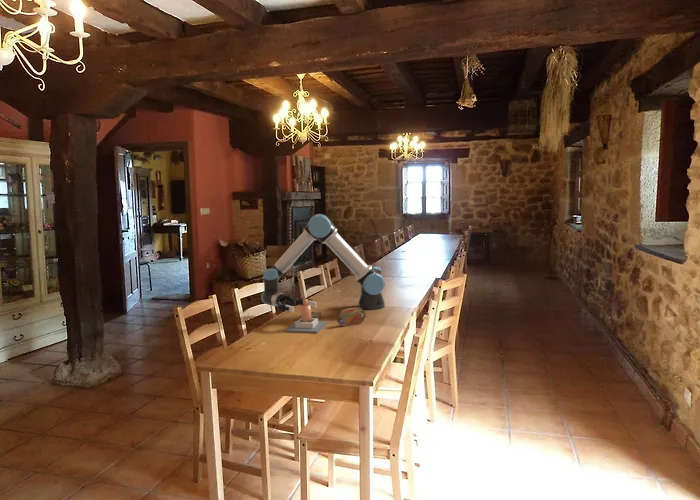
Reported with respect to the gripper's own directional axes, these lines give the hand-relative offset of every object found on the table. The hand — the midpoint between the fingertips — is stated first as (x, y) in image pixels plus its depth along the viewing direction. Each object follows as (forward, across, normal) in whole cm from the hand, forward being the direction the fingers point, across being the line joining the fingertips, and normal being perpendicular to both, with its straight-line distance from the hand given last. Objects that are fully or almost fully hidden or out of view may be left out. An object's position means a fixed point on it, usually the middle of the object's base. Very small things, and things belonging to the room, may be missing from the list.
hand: (305, 307), depth 249 cm
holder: (+1, 0, -10) cm, 10 cm away
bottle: (0, 0, -9) cm, 9 cm away
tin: (+12, -19, -10) cm, 25 cm away
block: (-12, -12, -10) cm, 20 cm away
